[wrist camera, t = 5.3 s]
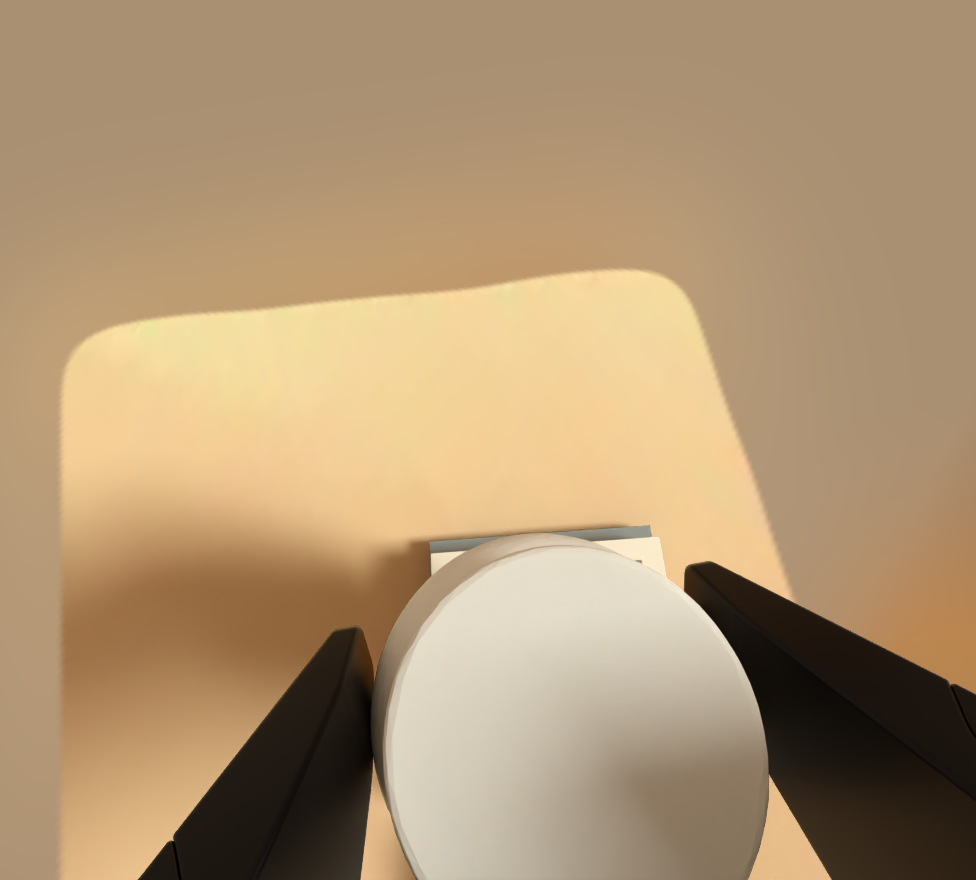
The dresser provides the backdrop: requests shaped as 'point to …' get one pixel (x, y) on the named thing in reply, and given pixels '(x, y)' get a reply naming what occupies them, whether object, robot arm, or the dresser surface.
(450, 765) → the supplement bottle
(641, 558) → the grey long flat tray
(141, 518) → the dresser surface
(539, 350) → the dresser surface
